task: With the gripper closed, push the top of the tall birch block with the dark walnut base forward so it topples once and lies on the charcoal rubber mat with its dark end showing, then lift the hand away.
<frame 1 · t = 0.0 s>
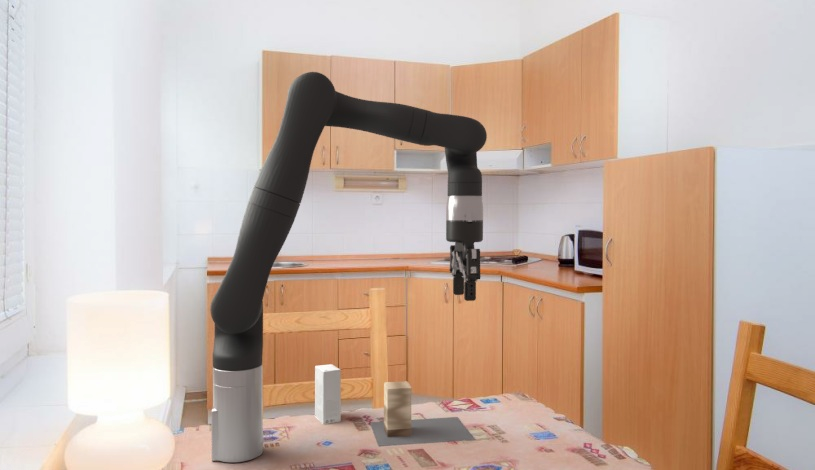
hand: (464, 297, 125), 29 cm above the table, tool pointing down, fingers open, 8 cm apart
skincare box: (327, 421, 137), on the table
birch block: (397, 432, 129), resting on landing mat
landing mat: (420, 432, 129), on the table
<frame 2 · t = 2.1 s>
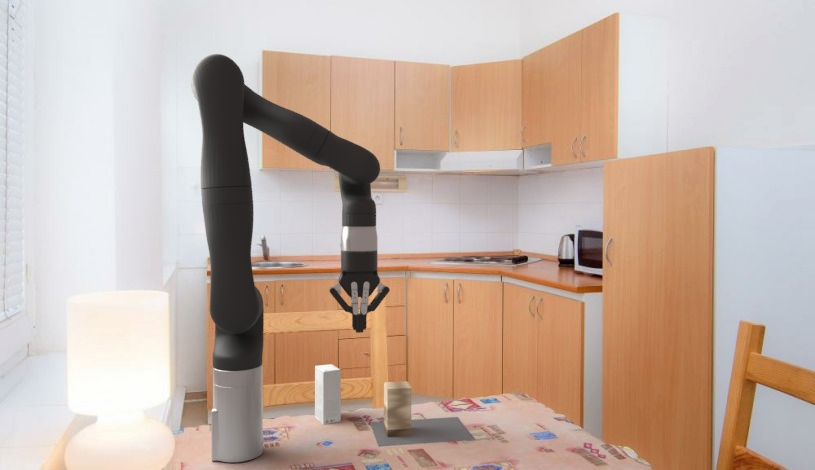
hand: (359, 331, 126), 22 cm above the table, tool pointing down, fingers closed
nothing on the table moved.
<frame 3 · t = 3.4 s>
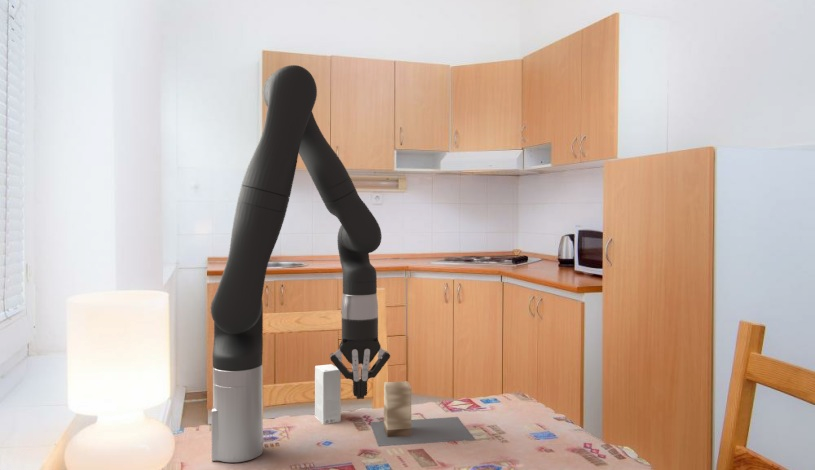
hand: (360, 397, 127), 8 cm above the table, tool pointing down, fingers closed
nothing on the table moved.
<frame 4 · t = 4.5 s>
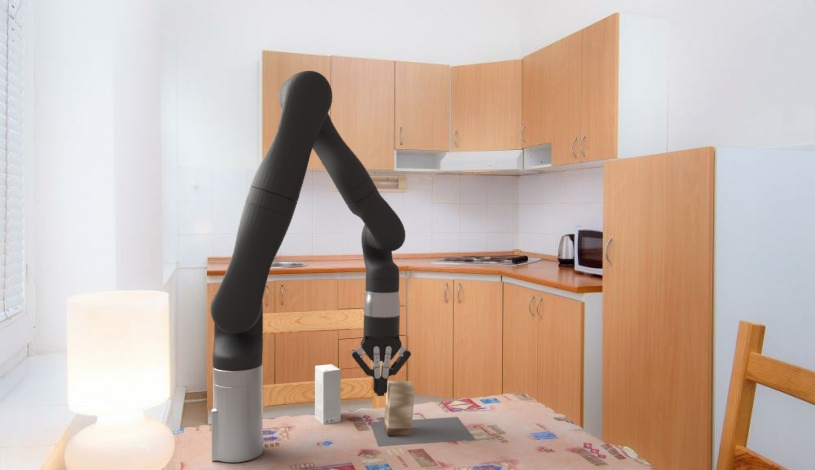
hand: (380, 394, 128), 8 cm above the table, tool pointing down, fingers closed
birch block: (397, 431, 129), point 1 cm above the table, touching gripper, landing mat
everything else where it was.
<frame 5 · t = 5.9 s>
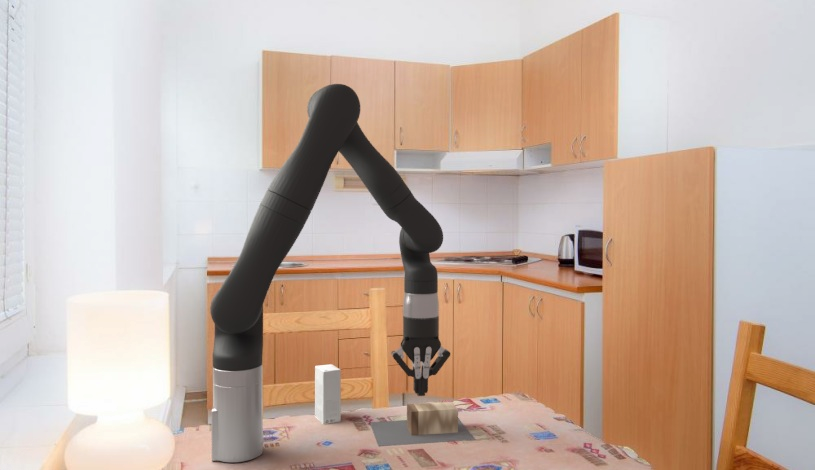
hand: (420, 394, 129), 8 cm above the table, tool pointing down, fingers closed
birch block: (409, 419, 129), point 3 cm above the table, tilted 90°, touching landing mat
everything else where it was.
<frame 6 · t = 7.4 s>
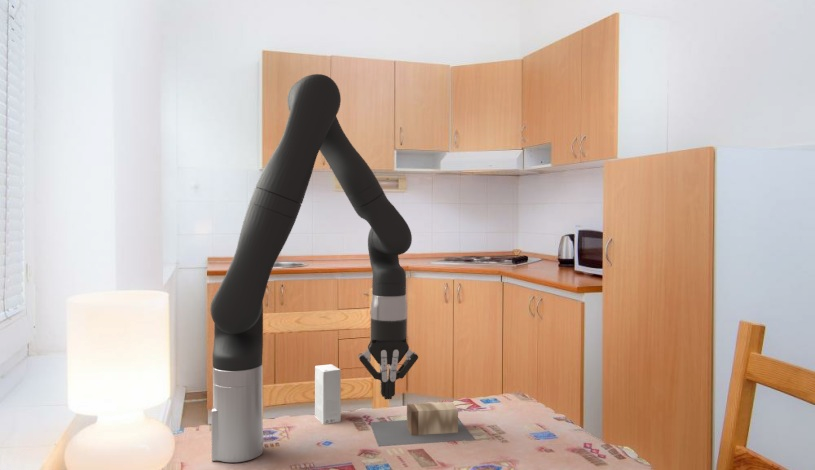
hand: (387, 398, 128), 8 cm above the table, tool pointing down, fingers closed
nothing on the table moved.
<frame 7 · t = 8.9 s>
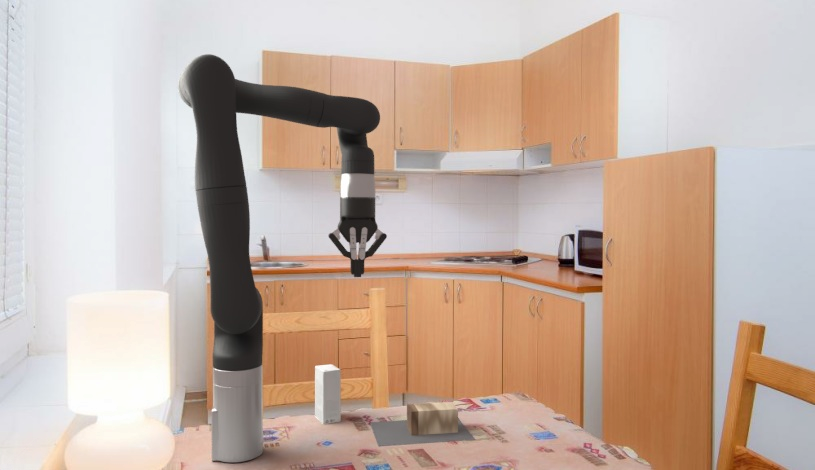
hand: (357, 276, 131), 33 cm above the table, tool pointing down, fingers closed
nothing on the table moved.
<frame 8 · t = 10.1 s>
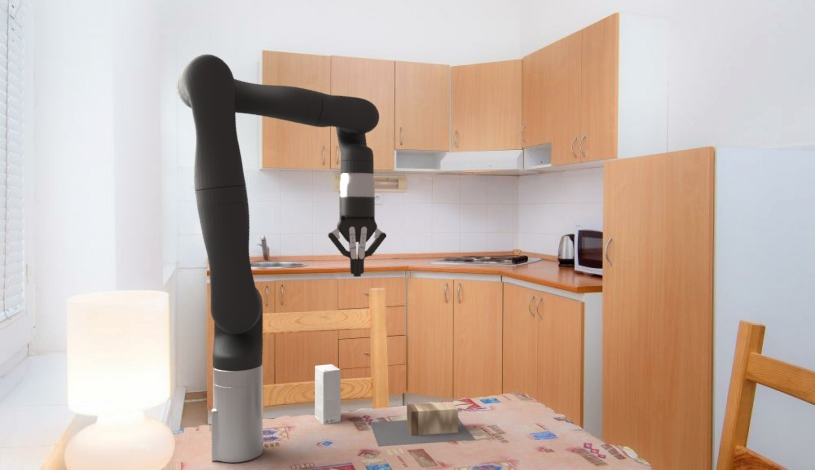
hand: (357, 276, 131), 33 cm above the table, tool pointing down, fingers closed
nothing on the table moved.
at the end: birch block tilted 90°; birch block touching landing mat; birch block inside the target area (2.5 cm from its centre), point 2.9 cm above the table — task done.
